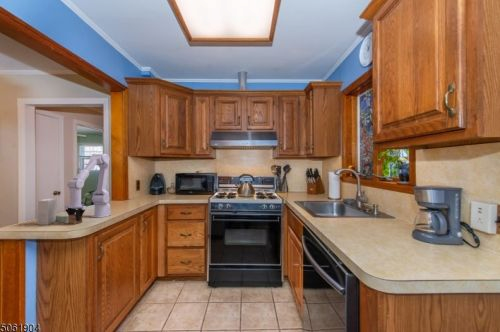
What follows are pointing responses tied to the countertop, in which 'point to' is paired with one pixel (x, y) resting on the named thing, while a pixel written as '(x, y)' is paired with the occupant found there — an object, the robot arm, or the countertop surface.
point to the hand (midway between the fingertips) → (75, 220)
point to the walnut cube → (73, 219)
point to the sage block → (62, 217)
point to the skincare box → (46, 211)
